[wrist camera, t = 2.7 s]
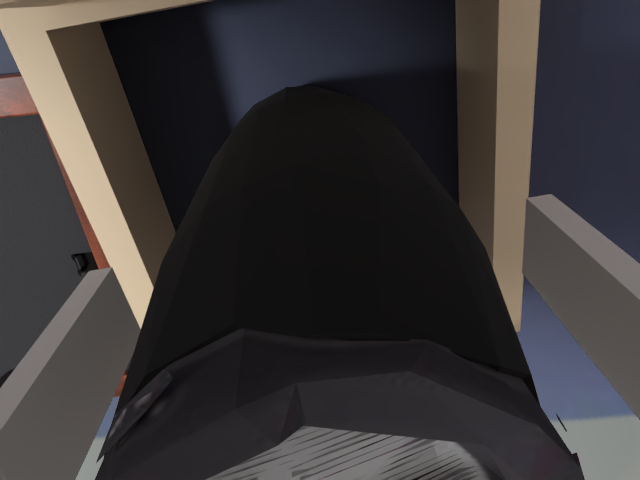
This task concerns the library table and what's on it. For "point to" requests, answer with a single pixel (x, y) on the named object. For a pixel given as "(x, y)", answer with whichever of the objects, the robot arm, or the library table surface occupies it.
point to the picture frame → (36, 228)
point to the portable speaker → (327, 321)
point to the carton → (139, 179)
